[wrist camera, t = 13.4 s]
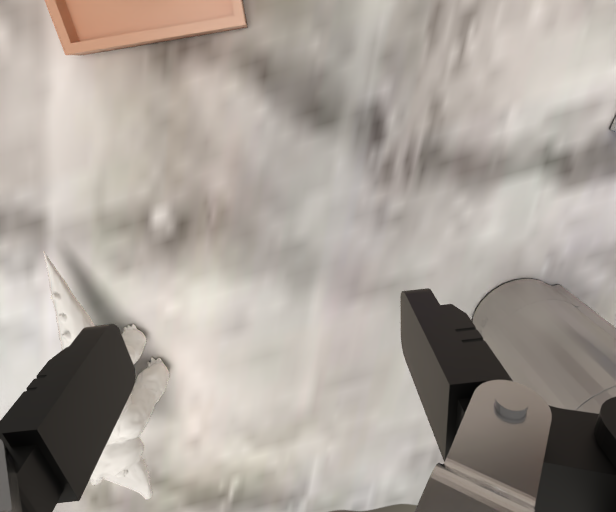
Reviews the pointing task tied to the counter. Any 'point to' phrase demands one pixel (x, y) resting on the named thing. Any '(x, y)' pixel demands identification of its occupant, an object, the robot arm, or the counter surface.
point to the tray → (138, 22)
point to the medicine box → (613, 125)
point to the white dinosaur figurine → (136, 413)
